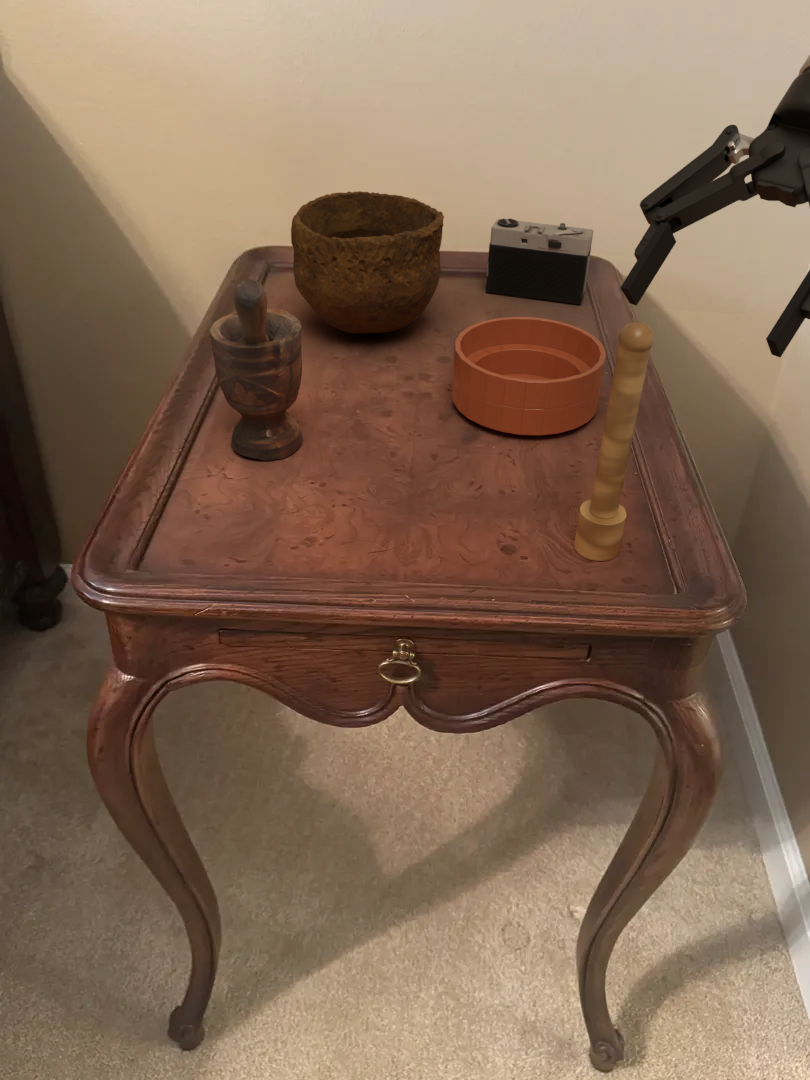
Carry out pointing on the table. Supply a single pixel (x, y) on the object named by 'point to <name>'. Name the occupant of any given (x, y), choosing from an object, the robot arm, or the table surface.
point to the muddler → (615, 449)
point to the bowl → (367, 259)
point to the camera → (538, 261)
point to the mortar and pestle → (259, 372)
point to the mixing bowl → (527, 375)
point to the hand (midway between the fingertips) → (696, 321)
